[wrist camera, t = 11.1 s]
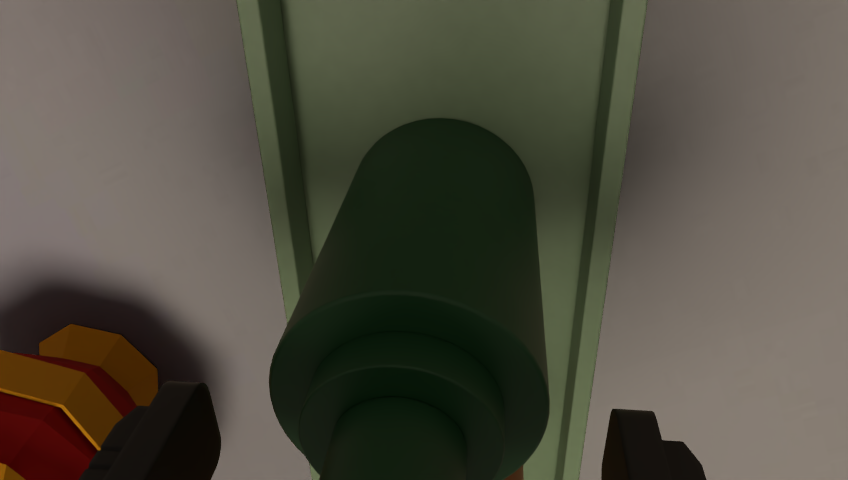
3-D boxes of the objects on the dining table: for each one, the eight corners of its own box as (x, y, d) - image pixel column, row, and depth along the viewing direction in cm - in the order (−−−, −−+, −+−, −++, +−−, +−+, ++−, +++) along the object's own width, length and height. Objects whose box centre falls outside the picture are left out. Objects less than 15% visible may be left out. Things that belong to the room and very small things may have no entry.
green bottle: (316, 199, 22) (120, 572, 11) (441, 77, 19) (352, 399, 8) (443, 307, 23) (386, 725, 12) (573, 207, 21) (647, 621, 10)
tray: (253, -98, 18) (220, -90, 16) (643, -104, 17) (662, -96, 15) (343, 565, 33) (332, 613, 31) (553, 583, 32) (556, 634, 30)
